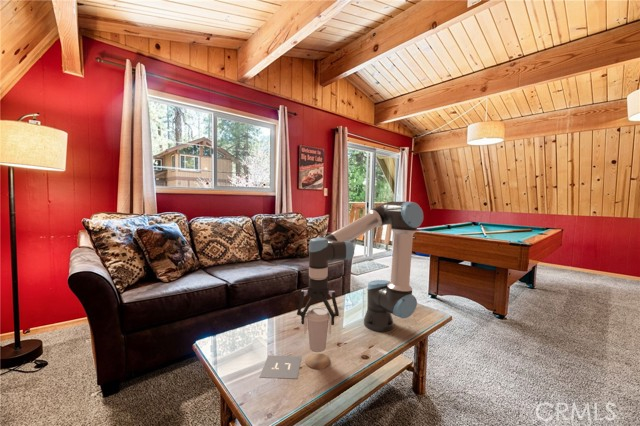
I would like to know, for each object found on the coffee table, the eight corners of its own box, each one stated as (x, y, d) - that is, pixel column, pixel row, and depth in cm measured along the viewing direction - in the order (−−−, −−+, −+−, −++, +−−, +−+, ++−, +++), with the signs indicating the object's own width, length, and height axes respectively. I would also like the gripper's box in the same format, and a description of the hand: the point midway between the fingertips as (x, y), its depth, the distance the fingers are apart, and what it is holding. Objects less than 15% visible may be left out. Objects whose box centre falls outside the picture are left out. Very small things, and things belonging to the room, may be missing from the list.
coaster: (330, 354, 115) (330, 353, 115) (330, 369, 105) (330, 368, 105) (306, 354, 116) (306, 353, 116) (304, 368, 106) (304, 367, 106)
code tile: (301, 356, 114) (301, 356, 114) (297, 378, 100) (297, 378, 100) (268, 355, 114) (268, 355, 114) (259, 377, 100) (259, 377, 100)
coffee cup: (305, 341, 114) (305, 306, 114) (328, 341, 115) (328, 306, 114) (306, 354, 105) (306, 316, 104) (330, 354, 106) (331, 316, 105)
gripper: (345, 275, 112) (344, 328, 113) (292, 274, 113) (291, 327, 114) (346, 280, 104) (345, 337, 106) (289, 279, 105) (289, 336, 107)
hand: (317, 332), depth 110 cm, fingers closed on coffee cup, 9 cm apart
